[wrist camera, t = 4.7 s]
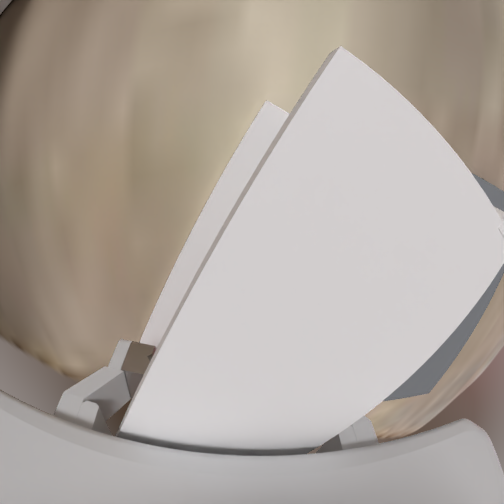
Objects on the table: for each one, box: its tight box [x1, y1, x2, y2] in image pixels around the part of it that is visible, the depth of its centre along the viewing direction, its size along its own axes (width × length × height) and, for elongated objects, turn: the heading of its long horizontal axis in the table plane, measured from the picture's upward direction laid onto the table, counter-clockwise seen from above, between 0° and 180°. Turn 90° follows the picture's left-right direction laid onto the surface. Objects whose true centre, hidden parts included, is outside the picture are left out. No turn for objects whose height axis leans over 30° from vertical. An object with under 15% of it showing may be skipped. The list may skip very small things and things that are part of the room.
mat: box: [383, 173, 504, 401], centre depth 17 cm, size 10×20×1 cm, turn 170°
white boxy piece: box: [115, 46, 504, 456], centre depth 11 cm, size 20×6×9 cm, turn 150°
